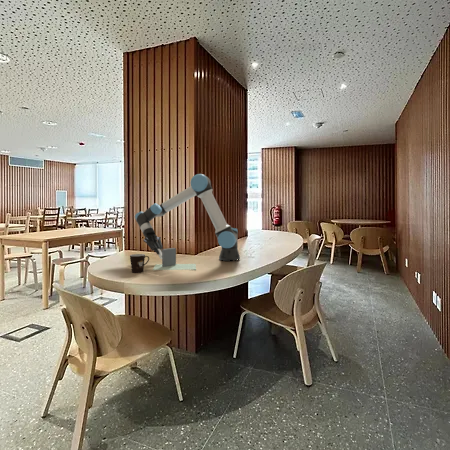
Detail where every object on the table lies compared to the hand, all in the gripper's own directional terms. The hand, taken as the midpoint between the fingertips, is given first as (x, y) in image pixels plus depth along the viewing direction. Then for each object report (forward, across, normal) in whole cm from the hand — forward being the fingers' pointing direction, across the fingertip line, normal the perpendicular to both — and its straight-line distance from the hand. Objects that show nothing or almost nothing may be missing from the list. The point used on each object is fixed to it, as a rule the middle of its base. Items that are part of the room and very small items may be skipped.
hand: (162, 257), depth 205 cm
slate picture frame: (+8, 0, +2) cm, 8 cm away
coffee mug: (+9, +21, +2) cm, 23 cm away
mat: (+13, -1, +6) cm, 14 cm away
